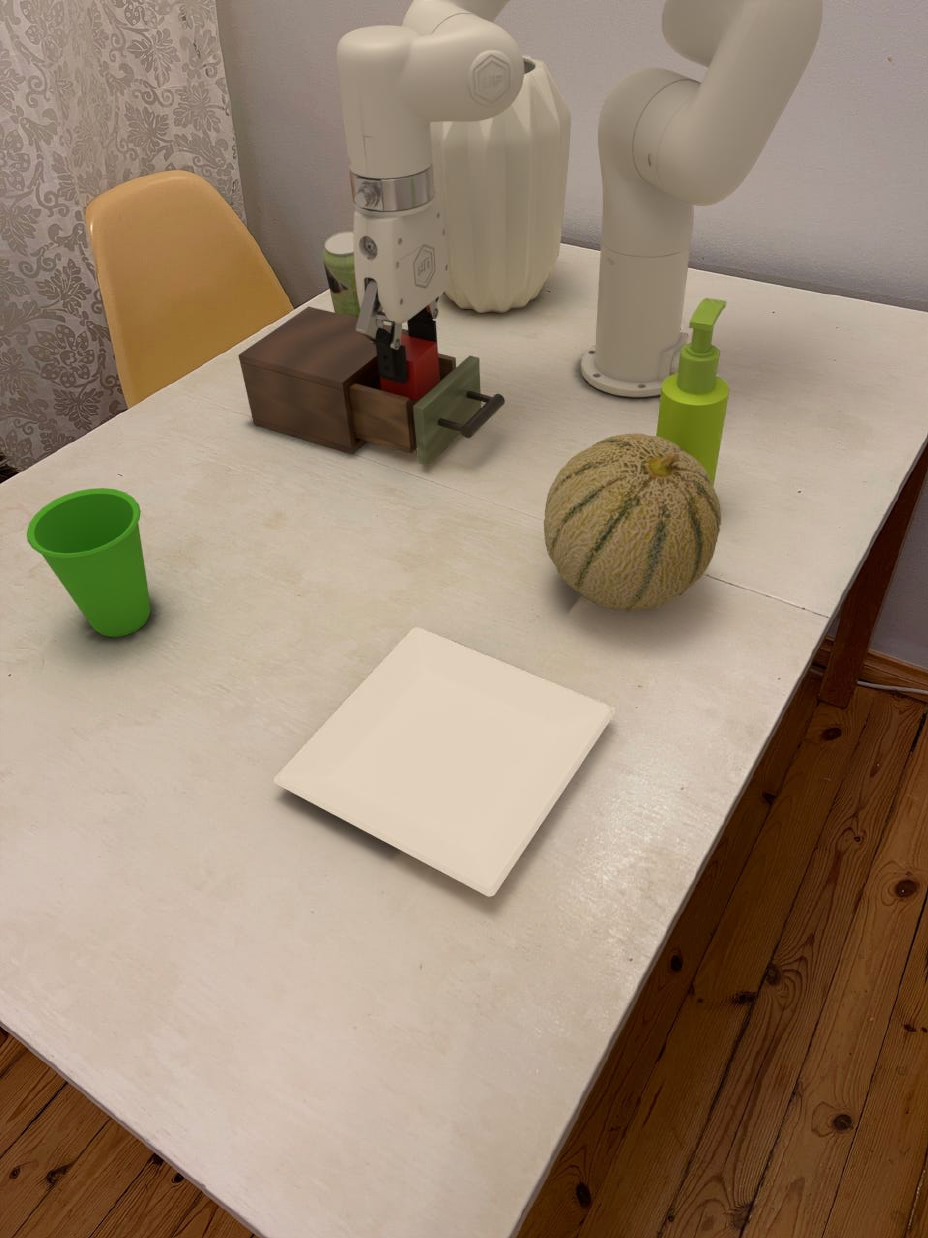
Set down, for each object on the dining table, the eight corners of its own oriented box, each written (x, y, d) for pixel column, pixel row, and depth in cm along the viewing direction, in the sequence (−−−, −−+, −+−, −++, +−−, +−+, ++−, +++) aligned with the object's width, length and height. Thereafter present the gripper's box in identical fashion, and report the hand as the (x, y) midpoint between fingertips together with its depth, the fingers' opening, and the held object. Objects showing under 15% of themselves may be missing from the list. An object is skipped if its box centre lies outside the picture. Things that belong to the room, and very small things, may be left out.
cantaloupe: (554, 529, 93) (557, 390, 82) (710, 543, 90) (734, 402, 80) (530, 635, 82) (530, 492, 72) (706, 655, 80) (732, 509, 69)
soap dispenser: (719, 490, 96) (751, 298, 82) (700, 530, 92) (731, 334, 78) (661, 478, 98) (683, 288, 84) (641, 516, 94) (661, 323, 80)
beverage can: (387, 315, 127) (377, 223, 119) (378, 342, 122) (367, 248, 113) (340, 315, 128) (327, 224, 119) (329, 342, 122) (315, 248, 114)
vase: (518, 340, 120) (517, 99, 102) (392, 307, 129) (369, 78, 110) (591, 280, 132) (602, 54, 113) (471, 253, 140) (463, 38, 121)
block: (440, 381, 102) (437, 342, 99) (417, 401, 100) (414, 362, 97) (404, 372, 104) (400, 333, 101) (381, 391, 101) (376, 352, 98)
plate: (492, 913, 64) (491, 896, 62) (275, 796, 71) (270, 779, 70) (615, 724, 75) (617, 706, 73) (416, 641, 82) (414, 623, 81)
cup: (192, 594, 88) (160, 496, 80) (137, 663, 82) (97, 564, 74) (108, 576, 90) (70, 480, 83) (49, 642, 84) (1, 544, 77)
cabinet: (414, 399, 111) (408, 329, 105) (352, 454, 104) (342, 382, 98) (319, 373, 117) (308, 306, 111) (253, 424, 109) (237, 354, 103)
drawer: (515, 422, 105) (514, 365, 100) (463, 476, 98) (459, 418, 93) (387, 388, 112) (381, 333, 107) (329, 437, 105) (320, 380, 100)
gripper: (375, 226, 81) (395, 414, 94) (474, 161, 92) (480, 338, 104) (303, 212, 84) (332, 397, 96) (407, 151, 94) (421, 324, 107)
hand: (409, 364), depth 100 cm, fingers open, 5 cm apart
